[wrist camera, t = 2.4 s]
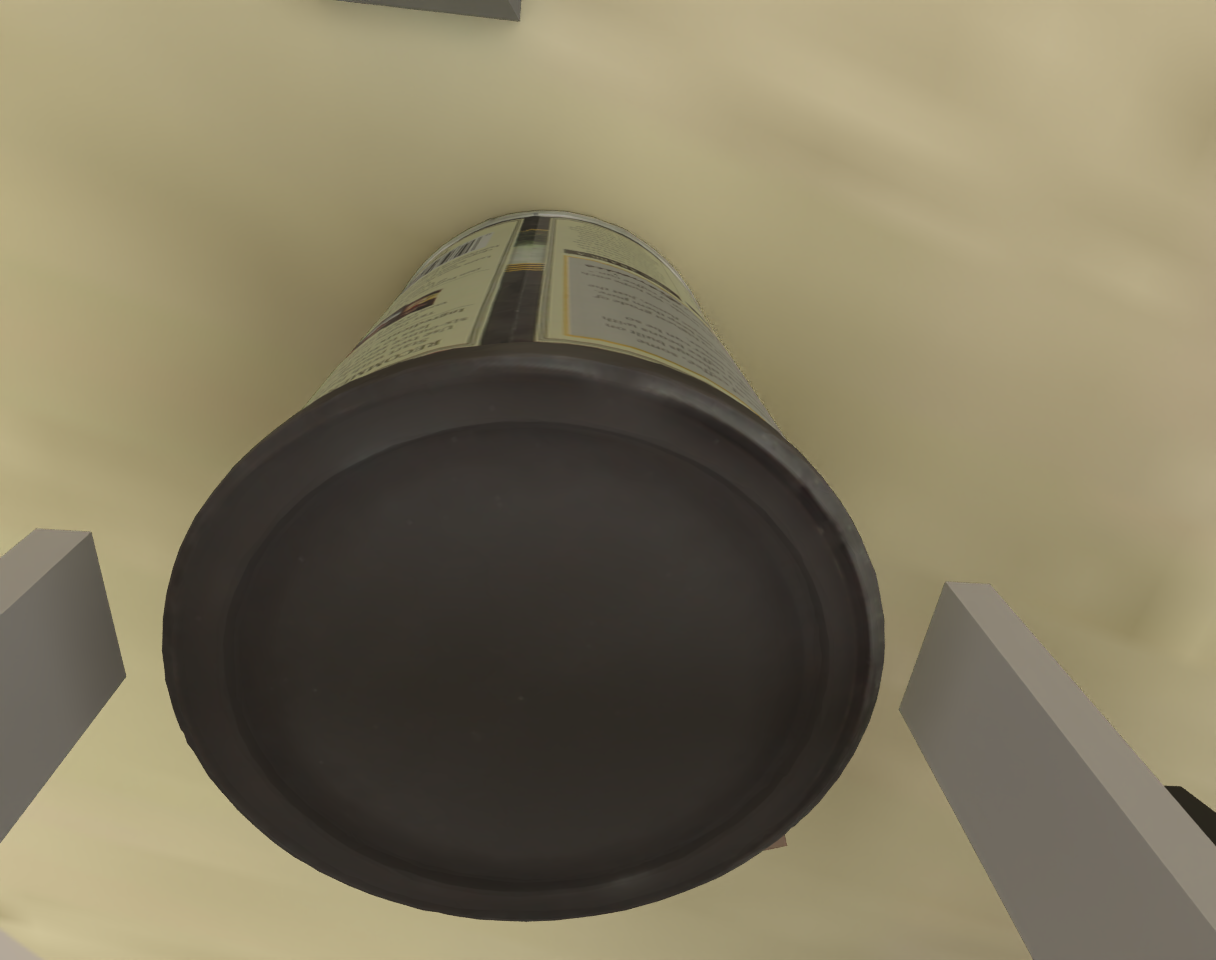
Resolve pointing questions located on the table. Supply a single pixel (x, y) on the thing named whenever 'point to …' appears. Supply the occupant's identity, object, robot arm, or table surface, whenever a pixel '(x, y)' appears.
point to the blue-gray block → (458, 7)
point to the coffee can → (526, 597)
